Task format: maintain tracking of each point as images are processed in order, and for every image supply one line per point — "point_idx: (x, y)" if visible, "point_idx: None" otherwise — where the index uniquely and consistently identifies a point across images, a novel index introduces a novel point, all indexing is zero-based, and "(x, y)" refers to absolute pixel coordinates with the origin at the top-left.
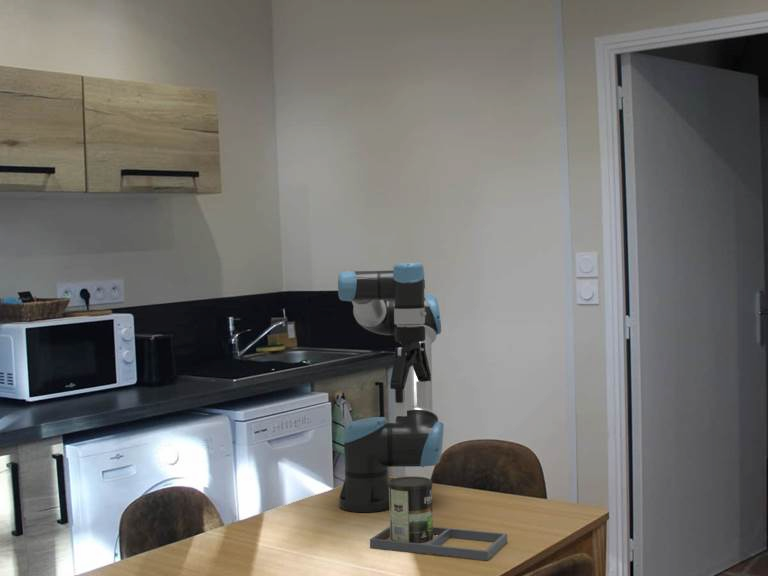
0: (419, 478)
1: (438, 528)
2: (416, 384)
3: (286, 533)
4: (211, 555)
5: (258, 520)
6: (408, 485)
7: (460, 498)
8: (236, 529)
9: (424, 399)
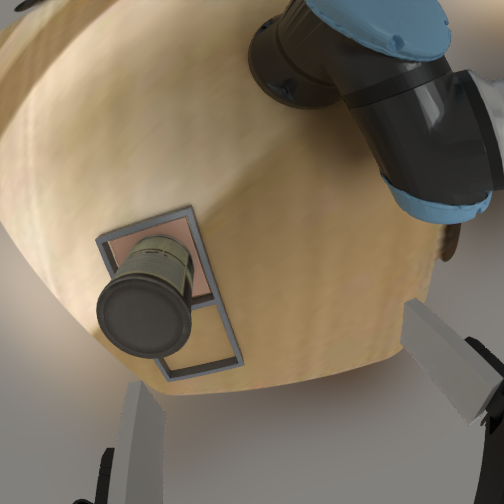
0: (181, 317)
1: (210, 286)
2: (479, 379)
3: (82, 72)
4: None
5: None
6: (119, 335)
7: None
8: (71, 11)
9: (421, 358)
